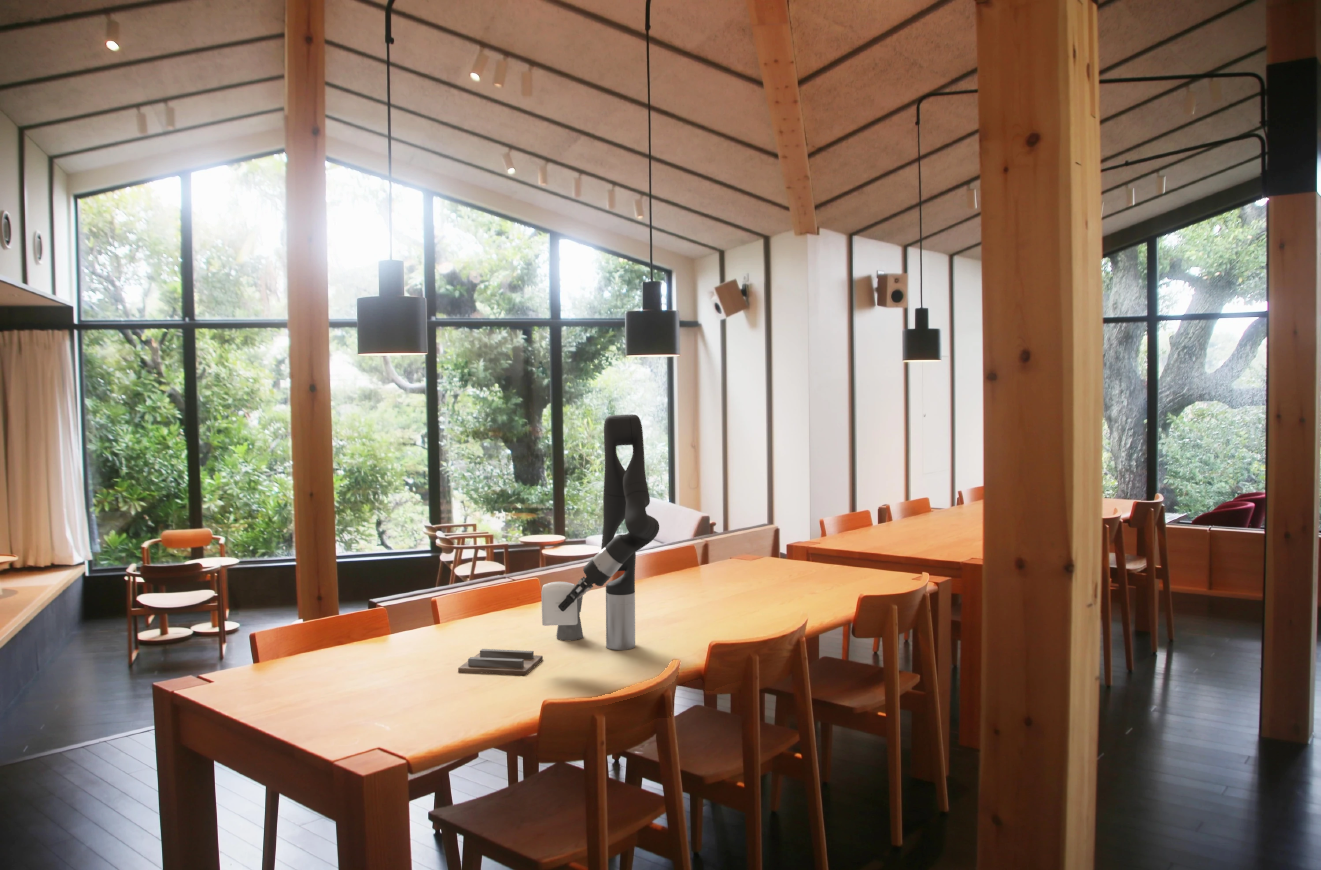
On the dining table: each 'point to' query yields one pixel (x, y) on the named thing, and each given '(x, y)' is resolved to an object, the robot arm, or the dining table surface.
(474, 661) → the cradle
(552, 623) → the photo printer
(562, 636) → the coffeepot
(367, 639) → the dining table surface
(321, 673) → the dining table surface
